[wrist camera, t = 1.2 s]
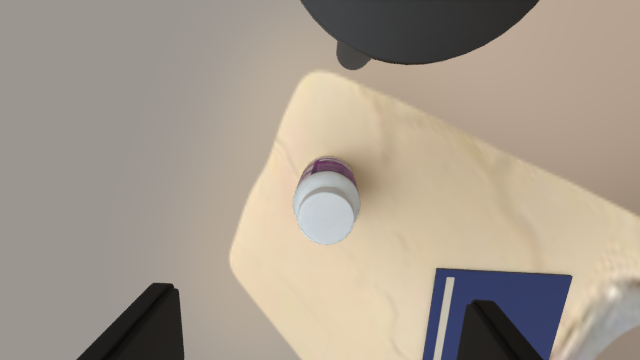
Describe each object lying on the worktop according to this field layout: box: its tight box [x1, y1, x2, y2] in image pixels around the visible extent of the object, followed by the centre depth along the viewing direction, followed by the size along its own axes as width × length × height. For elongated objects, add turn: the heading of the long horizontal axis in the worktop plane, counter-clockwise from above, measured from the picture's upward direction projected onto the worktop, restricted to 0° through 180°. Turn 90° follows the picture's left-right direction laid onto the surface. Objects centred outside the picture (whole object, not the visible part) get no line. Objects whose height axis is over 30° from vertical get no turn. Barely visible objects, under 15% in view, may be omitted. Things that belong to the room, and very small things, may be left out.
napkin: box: [423, 268, 572, 360], centre depth 34 cm, size 14×14×1 cm
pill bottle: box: [293, 156, 360, 245], centre depth 26 cm, size 5×5×10 cm
